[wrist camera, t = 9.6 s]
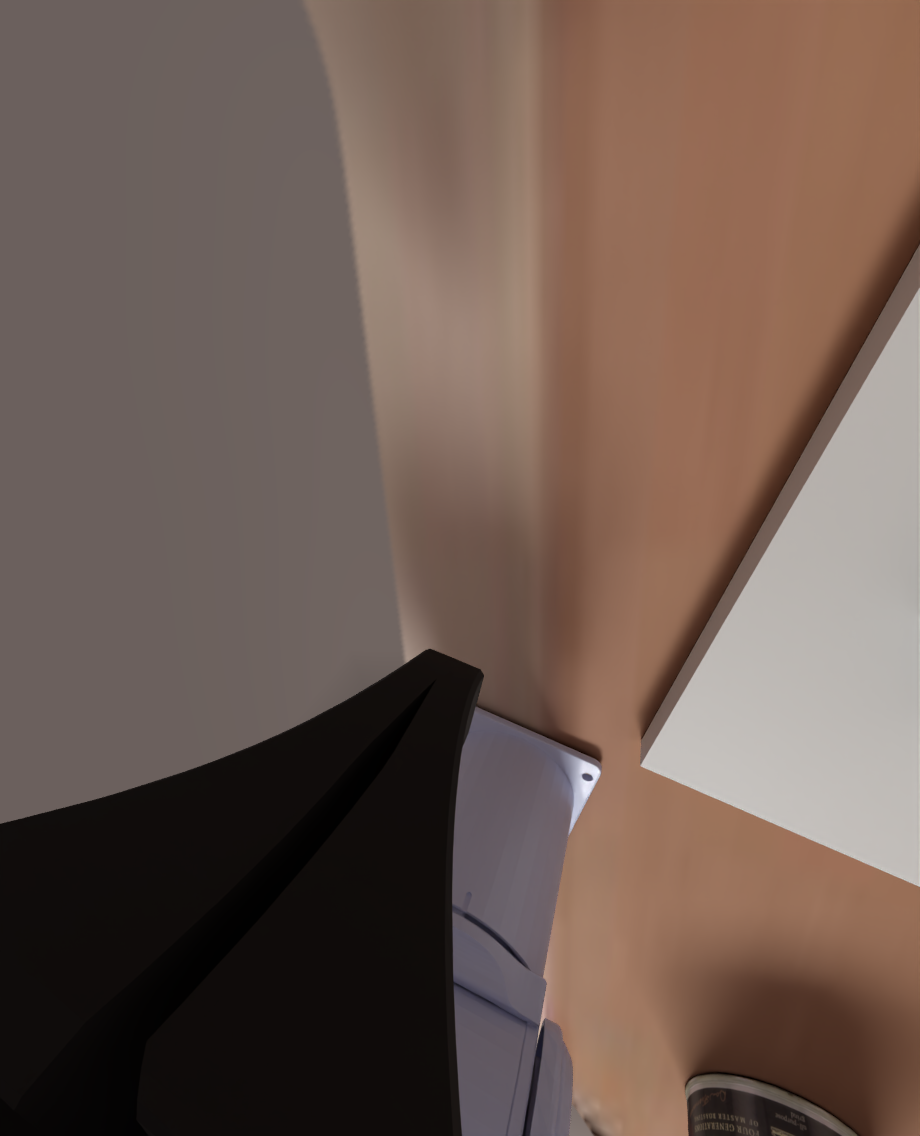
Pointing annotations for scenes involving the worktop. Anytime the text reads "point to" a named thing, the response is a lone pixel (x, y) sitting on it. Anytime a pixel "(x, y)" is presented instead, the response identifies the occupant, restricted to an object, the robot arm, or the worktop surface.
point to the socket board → (823, 630)
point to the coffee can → (753, 1110)
